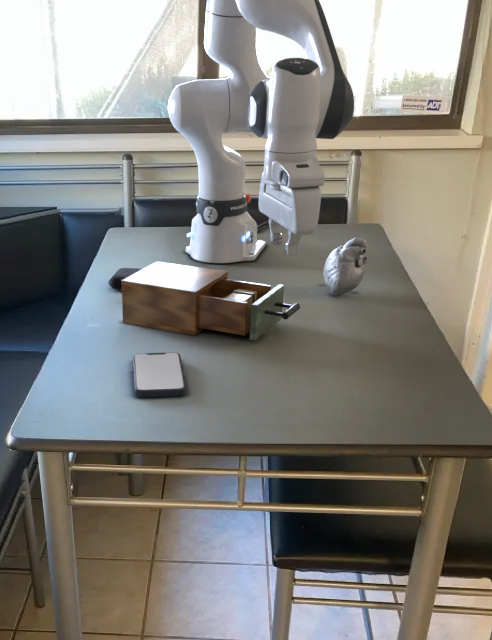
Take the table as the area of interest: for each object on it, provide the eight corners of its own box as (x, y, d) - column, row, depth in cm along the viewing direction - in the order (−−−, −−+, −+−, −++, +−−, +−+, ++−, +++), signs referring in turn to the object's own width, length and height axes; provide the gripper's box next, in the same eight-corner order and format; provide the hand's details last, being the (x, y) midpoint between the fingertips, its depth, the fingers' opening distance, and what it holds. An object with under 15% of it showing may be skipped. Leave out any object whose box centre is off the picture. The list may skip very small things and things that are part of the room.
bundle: (236, 310, 166) (237, 287, 163) (256, 313, 164) (258, 290, 161) (217, 324, 160) (218, 300, 157) (237, 327, 158) (239, 304, 155)
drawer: (305, 322, 162) (308, 288, 158) (279, 344, 153) (282, 309, 149) (212, 307, 171) (213, 274, 167) (182, 327, 162) (183, 293, 158)
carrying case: (105, 292, 183) (169, 296, 180) (104, 279, 181) (169, 282, 178) (117, 278, 192) (178, 281, 189) (117, 265, 190) (179, 268, 187)
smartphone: (187, 398, 137) (180, 359, 150) (187, 389, 136) (180, 351, 149) (134, 400, 137) (132, 361, 150) (134, 391, 136) (132, 353, 149)
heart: (323, 280, 185) (326, 228, 177) (365, 283, 182) (371, 231, 174) (314, 302, 179) (318, 249, 170) (359, 305, 176) (364, 252, 167)
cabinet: (226, 312, 171) (228, 271, 166) (194, 335, 160) (195, 292, 155) (157, 301, 178) (156, 261, 173) (122, 322, 167) (121, 280, 163)
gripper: (252, 158, 150) (248, 236, 157) (293, 179, 133) (286, 265, 141) (284, 156, 151) (279, 233, 158) (329, 176, 134) (321, 262, 142)
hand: (283, 248), depth 150 cm, fingers open, 6 cm apart
